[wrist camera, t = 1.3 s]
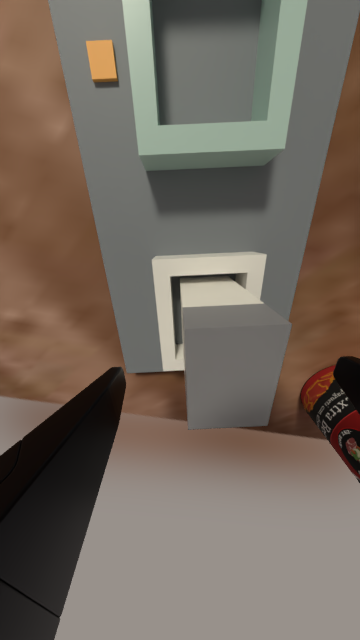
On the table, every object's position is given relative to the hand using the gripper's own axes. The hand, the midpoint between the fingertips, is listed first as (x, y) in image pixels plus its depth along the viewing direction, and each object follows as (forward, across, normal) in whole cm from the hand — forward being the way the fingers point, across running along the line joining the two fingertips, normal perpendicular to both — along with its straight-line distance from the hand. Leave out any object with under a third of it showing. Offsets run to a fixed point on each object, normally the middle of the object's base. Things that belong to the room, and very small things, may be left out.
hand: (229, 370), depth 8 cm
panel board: (+9, 0, -6) cm, 11 cm away
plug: (+7, 0, 0) cm, 7 cm away
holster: (+7, 0, 0) cm, 7 cm away
